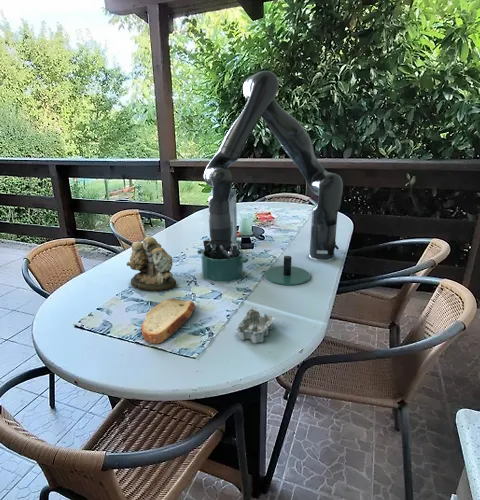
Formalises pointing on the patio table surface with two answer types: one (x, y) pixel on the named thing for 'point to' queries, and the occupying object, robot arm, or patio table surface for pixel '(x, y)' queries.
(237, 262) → the pot
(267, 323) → the egg carton
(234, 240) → the juice carton
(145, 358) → the patio table surface
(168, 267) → the owl figurine
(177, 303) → the bread slice
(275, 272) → the lid
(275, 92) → the robot arm
